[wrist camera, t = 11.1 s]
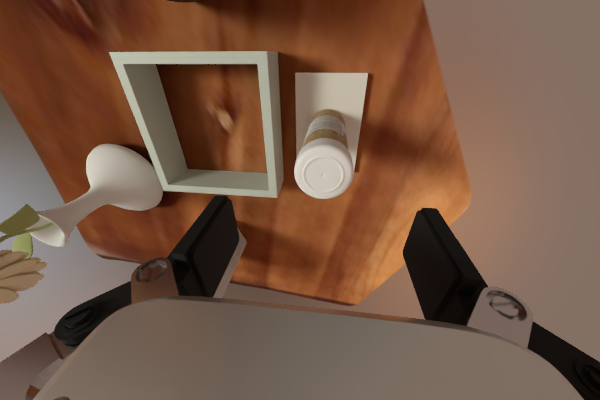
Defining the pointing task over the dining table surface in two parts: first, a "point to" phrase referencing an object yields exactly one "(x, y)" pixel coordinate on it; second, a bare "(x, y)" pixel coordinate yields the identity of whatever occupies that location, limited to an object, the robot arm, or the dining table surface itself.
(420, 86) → the dining table surface
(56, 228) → the flower in vase
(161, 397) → the robot arm
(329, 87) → the mat
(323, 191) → the sprinkles bottle
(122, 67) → the open box
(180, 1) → the wooden figurine
